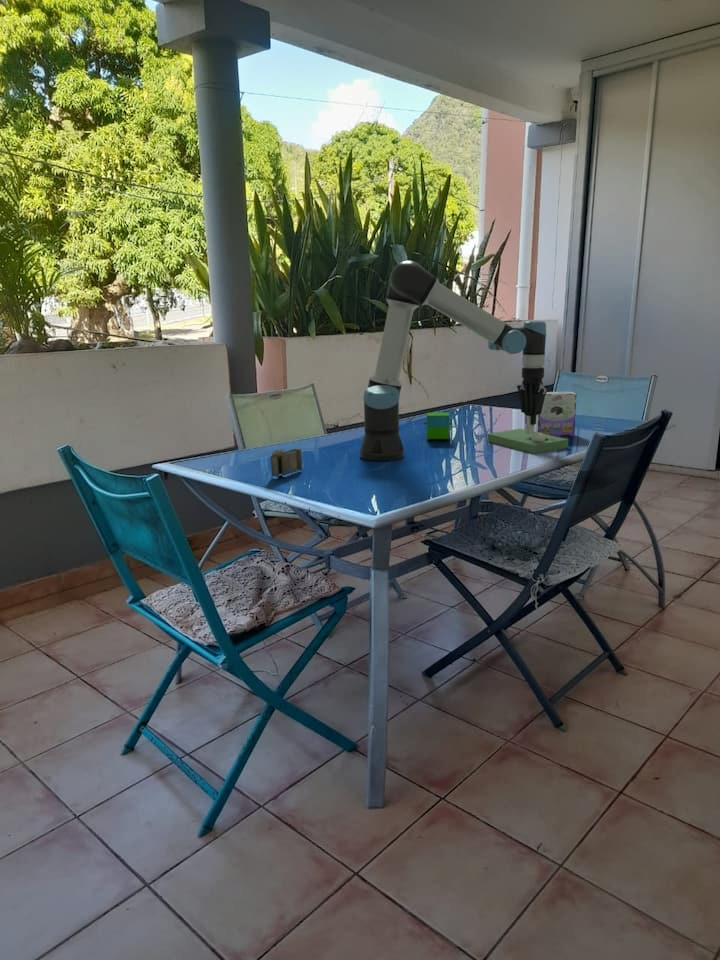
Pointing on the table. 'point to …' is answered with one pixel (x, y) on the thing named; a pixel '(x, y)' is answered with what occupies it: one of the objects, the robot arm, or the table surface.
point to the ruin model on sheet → (286, 462)
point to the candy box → (557, 414)
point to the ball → (538, 437)
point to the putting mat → (527, 441)
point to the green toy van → (437, 426)
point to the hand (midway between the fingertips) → (530, 433)
